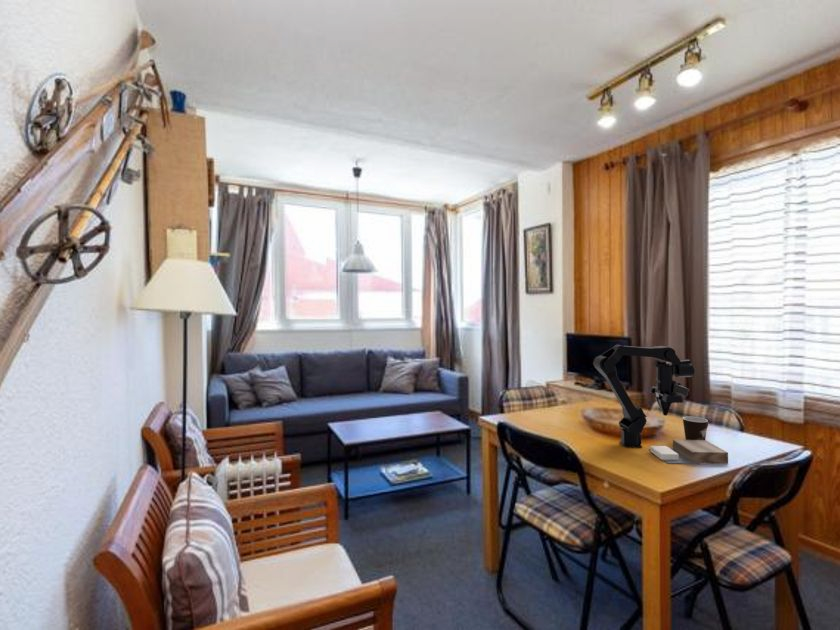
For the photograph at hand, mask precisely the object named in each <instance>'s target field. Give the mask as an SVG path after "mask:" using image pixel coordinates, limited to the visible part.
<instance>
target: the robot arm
mask: <svg viewBox="0 0 840 630" xmlns="http://www.w3.org/2000/svg"><path fill="white" fill-rule="evenodd" d="M623 356H632V357H633V356H634V357H645V358H646V357H647V358H653V359H655V361H654V362H652V363H651V366H653V367H656V378H654V381H655V382H656V386H649V388H648V394H650V395H653V394H655V396H653V398H654V399H655V401H656V404H657V405H658V407H659V409H660V411H661V413H662V415H663V416H665V417H666V416H668V414H669V411H670V408H671V405H672V404H673V403H676V404H677V403H678V404H682V403H684V397H688V395H689V391H690V388H687V387H685V386H683V385H682V383H681V382H679V381H676V380H675V379H674V377H676V378H692V377H693V376H694V374H695V368H694V365H693V364H692V361H691V360H690V359H684V360H681V359H680V358H679V357H678V355H677V354H676V351H675V349H674V348H673V347H670V346H665V345H657V346H656V345H655V346H649V347H644V346H643V347H642V346H631V345H622V344H621V345H620V344H615V345H614V346H612V347H611V348H609V349H608V350H607V351H605V352H603V353H602V354H600V355H598V356H596V357H594V359H593V362H592V365H593V366H594V368H595V369H596V370H597V372H599V374H600V375H602V377H604V379H605V381H606V382H607V383H608V385H609V387H610V389H611V390H612V393H613V394H614V395H615V397H616V399H617V401H618V402H619V405H620V406H621V408H622V409H621V410H622V415H623V418H621V420H619V421H618V425H619V427H620V428H621V429H620V433H621V435H620V436H621V437H620V439H621V440H620V441H619V443H620V444H621V445H622V446H623V447H624V448H643V446H642V433H643V430H644V427H645V426H646V424H647V422H648V421H647V418H646V417H647V415H646V414H645V413H644V410H643V408H642V407H640V406H638V405H635V404H634V403H633V401H632V399H631V398H630V396H629V394H628V392H627V391H626V389H625V387H624V385H623V383H622V382H621V381H620V378H619V376H618V374H617V367H616V364H618V363H619V362H620V360H621V358H623ZM680 394H681V395H680ZM682 395H683V396H684V397H683V396H682Z"/></svg>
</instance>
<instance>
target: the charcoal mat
mask: <svg viewBox="0 0 840 630" xmlns="http://www.w3.org/2000/svg"><path fill="white" fill-rule="evenodd" d="M670 449H671V450H673V451H674V452H676V453H677V454H679V460H663V461H664V462H665V463H666V464H667V465H701V463H699V462H692V461H690V460H689V459H687V458H686V457H684V456H683V455H681V454H680V453H678V452H677V451H675V450H674V449H673V448H670ZM648 451H650V448H648Z"/></svg>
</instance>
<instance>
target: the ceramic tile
mask: <svg viewBox="0 0 840 630" xmlns="http://www.w3.org/2000/svg"><path fill="white" fill-rule="evenodd" d="M649 449H650V450H649V451H650V452H651V453H653V454H654V455H655V456H656V457H657V458H659V459H660V460H662V461H664V460H679V454H677V453H676V452H674V451H673V450H671V449H672V448H670V447H668V446H666V445H650V446H649Z"/></svg>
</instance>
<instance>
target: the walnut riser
mask: <svg viewBox="0 0 840 630" xmlns="http://www.w3.org/2000/svg"><path fill="white" fill-rule="evenodd" d="M672 449H674V450H675V451H677V452H678V453H680V454H681V455H683V456H684V457H686V458H687V459H689V460H690V461H692V462H699V463H700V464H721V465H723V464H726V465H728V464H729V452H728V451H727V450H724V449H723V448H720V447H718V446H717V445H715V444H713V443H711V442H709V441H708V440H706V439H705V440H686V439H672Z"/></svg>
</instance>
